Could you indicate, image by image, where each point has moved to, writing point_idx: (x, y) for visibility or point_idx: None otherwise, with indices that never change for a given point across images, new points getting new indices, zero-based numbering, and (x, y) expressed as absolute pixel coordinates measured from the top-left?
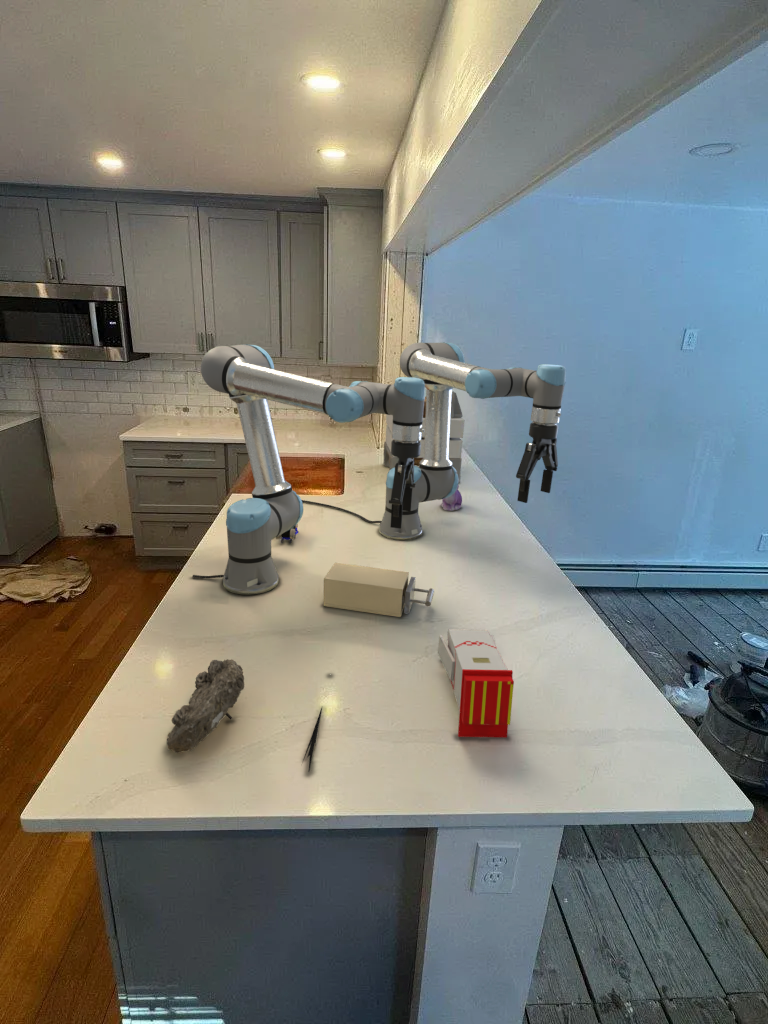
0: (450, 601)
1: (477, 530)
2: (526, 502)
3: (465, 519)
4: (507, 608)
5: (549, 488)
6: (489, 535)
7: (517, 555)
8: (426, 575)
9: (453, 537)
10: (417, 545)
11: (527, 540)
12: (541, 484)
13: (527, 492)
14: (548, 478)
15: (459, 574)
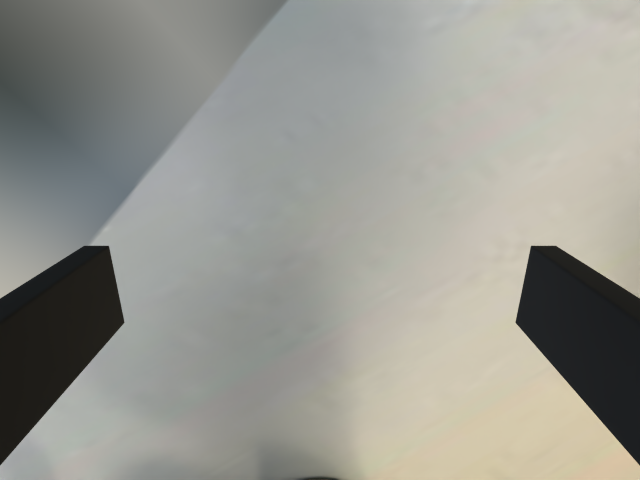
0: (600, 226)
1: (133, 417)
2: (551, 247)
3: (98, 473)
4: (545, 86)
5: (82, 265)
6: (133, 379)
7: (187, 254)
8: (499, 347)
9: (234, 429)
10: (354, 454)
11: None
12: (89, 361)
13: (630, 294)
14: (9, 355)
15: (434, 297)
